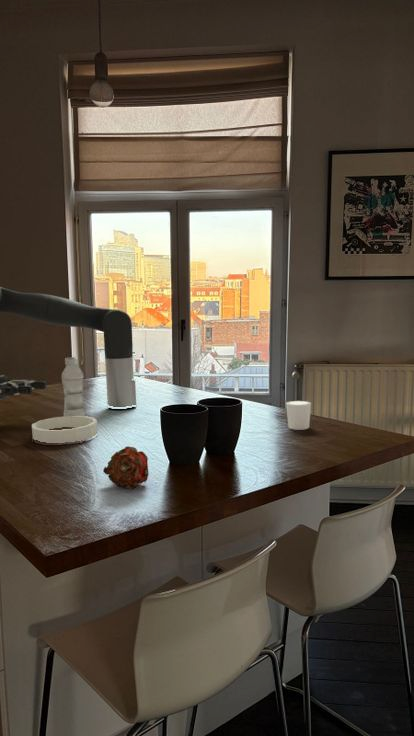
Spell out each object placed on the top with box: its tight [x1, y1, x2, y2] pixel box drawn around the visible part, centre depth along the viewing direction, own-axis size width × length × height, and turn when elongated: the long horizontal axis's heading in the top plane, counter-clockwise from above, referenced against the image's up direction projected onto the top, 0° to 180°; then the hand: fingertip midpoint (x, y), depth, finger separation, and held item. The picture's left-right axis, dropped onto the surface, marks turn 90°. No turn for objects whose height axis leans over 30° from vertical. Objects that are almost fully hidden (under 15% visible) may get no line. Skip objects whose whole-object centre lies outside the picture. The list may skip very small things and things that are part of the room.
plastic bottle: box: [61, 356, 87, 417], centre depth 166 cm, size 6×7×20 cm
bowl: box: [31, 415, 99, 443], centre depth 152 cm, size 17×17×4 cm
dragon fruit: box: [103, 445, 150, 490], centre depth 112 cm, size 8×8×12 cm
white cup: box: [285, 400, 312, 431], centre depth 155 cm, size 7×7×7 cm
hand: (38, 387), depth 168 cm, fingers open, 8 cm apart
